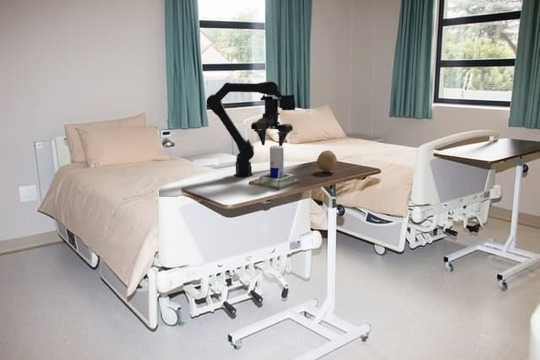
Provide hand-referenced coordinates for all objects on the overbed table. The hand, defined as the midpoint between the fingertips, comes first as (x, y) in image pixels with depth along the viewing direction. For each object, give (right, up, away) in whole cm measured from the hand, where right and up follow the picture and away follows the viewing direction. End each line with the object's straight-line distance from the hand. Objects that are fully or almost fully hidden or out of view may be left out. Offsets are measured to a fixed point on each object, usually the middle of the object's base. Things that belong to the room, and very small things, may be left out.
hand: (271, 146), depth 213 cm
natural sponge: (+25, -11, +7) cm, 29 cm away
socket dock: (+1, -16, -11) cm, 19 cm away
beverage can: (+2, -16, -14) cm, 21 cm away
